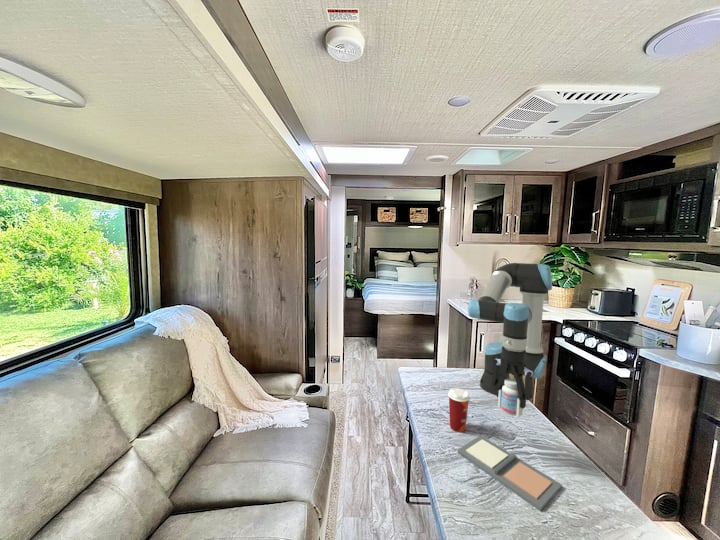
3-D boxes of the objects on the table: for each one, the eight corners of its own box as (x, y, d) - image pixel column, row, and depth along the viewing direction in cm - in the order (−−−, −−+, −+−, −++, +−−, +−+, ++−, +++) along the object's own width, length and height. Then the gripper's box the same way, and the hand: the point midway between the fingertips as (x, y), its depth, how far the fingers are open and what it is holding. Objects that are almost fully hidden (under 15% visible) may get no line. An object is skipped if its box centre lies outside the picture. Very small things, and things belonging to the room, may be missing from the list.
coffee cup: (469, 435, 116) (471, 399, 115) (447, 432, 118) (449, 396, 116) (466, 422, 125) (468, 388, 123) (446, 419, 126) (447, 386, 124)
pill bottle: (498, 411, 106) (499, 381, 105) (504, 404, 110) (505, 375, 109) (516, 418, 102) (518, 387, 101) (522, 411, 106) (523, 381, 105)
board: (480, 437, 115) (480, 432, 115) (561, 487, 92) (562, 481, 92) (457, 452, 107) (457, 446, 107) (540, 511, 84) (540, 504, 84)
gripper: (482, 342, 109) (479, 401, 112) (537, 359, 94) (532, 428, 96) (494, 338, 114) (491, 396, 116) (548, 354, 98) (543, 420, 100)
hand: (509, 410), depth 106 cm, fingers closed on pill bottle, 6 cm apart
